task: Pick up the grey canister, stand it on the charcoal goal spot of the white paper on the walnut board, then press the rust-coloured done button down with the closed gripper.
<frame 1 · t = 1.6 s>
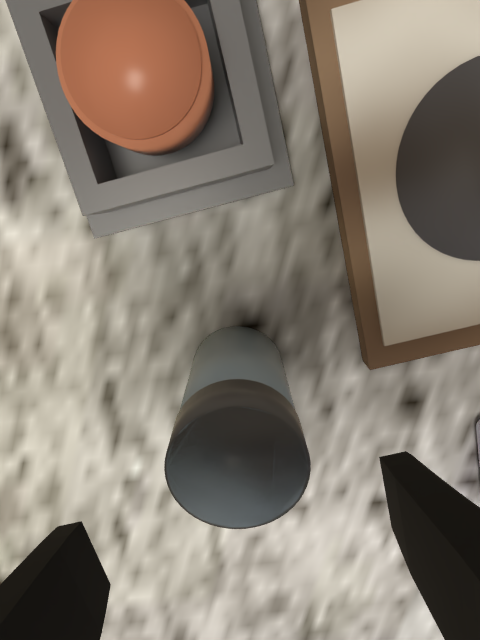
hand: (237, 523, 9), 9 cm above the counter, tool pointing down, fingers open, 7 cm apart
done button: (142, 76, 12), point 3 cm above the counter, slide at 0.0 cm
grey canister: (237, 368, 18), on the counter
done button housing: (163, 103, 15), on the counter
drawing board: (475, 165, 15), on the counter
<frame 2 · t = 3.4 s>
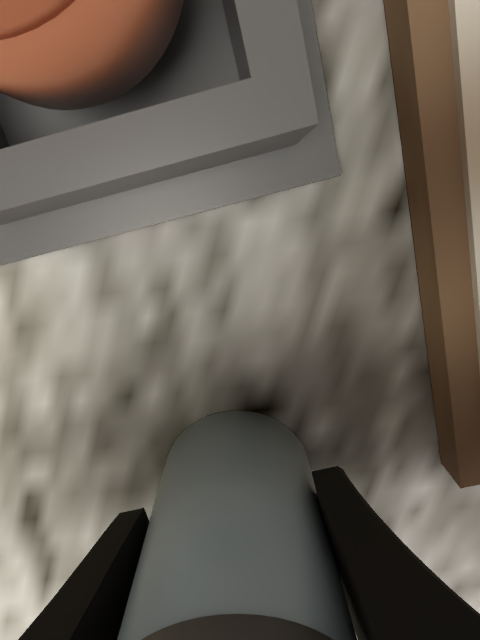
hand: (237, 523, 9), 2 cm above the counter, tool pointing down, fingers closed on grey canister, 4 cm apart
grey canister: (237, 475, 11), on the counter, touching gripper
done button housing: (99, 20, 8), on the counter
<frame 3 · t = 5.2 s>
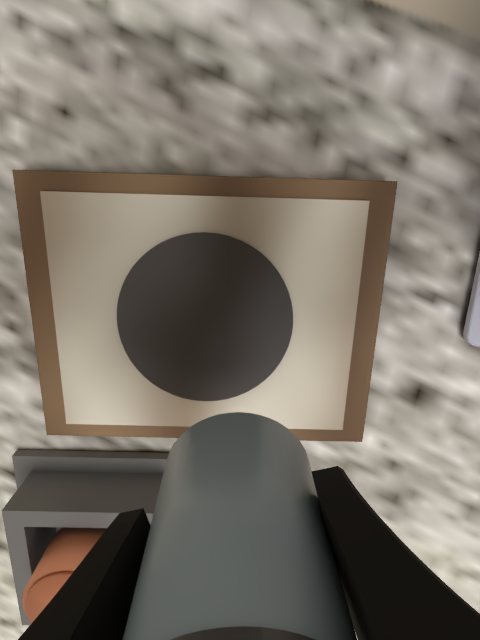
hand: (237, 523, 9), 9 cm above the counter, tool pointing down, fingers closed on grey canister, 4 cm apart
done button: (82, 581, 17), point 3 cm above the counter, slide at 0.0 cm
grey canister: (237, 475, 11), point 7 cm above the counter, touching gripper
done button housing: (107, 519, 20), on the counter
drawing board: (207, 313, 17), on the counter
when the fingers open (4 cm above the counter, at t = 7.2 s): grey canister stays where it is, resting on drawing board.
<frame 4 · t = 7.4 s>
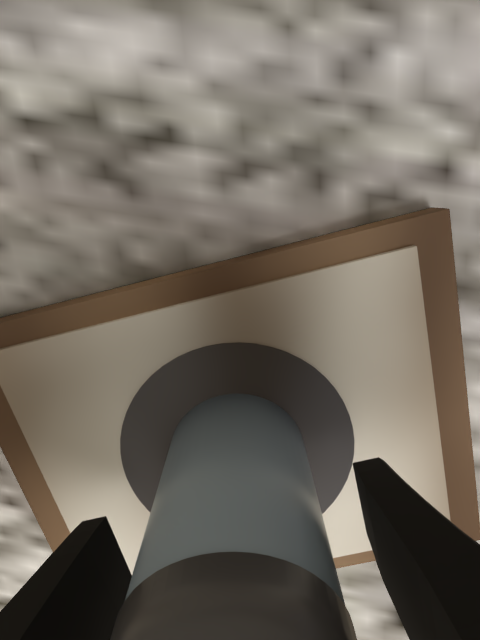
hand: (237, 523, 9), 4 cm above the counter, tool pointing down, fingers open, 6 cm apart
grey canister: (237, 454, 12), point 1 cm above the counter, touching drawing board
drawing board: (237, 429, 13), on the counter
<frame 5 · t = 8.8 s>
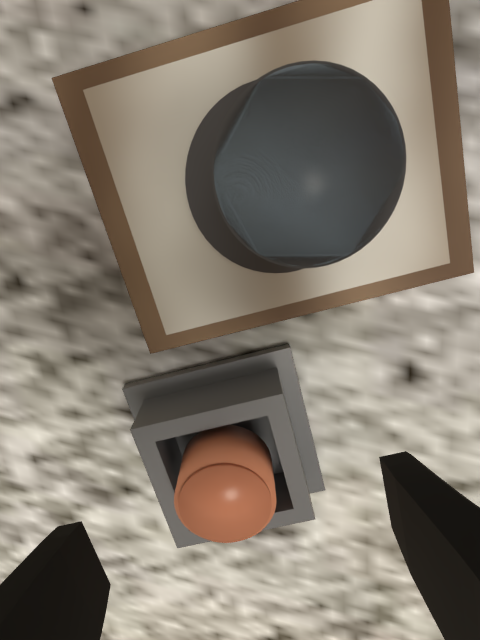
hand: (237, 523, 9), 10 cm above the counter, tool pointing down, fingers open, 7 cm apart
done button: (226, 483, 17), point 3 cm above the counter, slide at 0.0 cm
grey canister: (277, 181, 15), point 1 cm above the counter, touching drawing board
done button housing: (228, 435, 20), on the counter
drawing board: (275, 182, 16), on the counter
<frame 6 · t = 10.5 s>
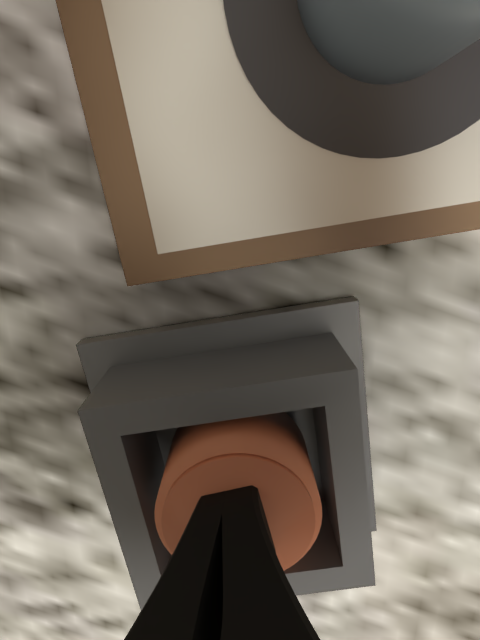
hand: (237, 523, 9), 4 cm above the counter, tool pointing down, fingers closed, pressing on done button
done button: (238, 487, 11), point 2 cm above the counter, slide at 1.1 cm, touching gripper
done button housing: (238, 436, 13), on the counter
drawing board: (372, 2, 9), on the counter
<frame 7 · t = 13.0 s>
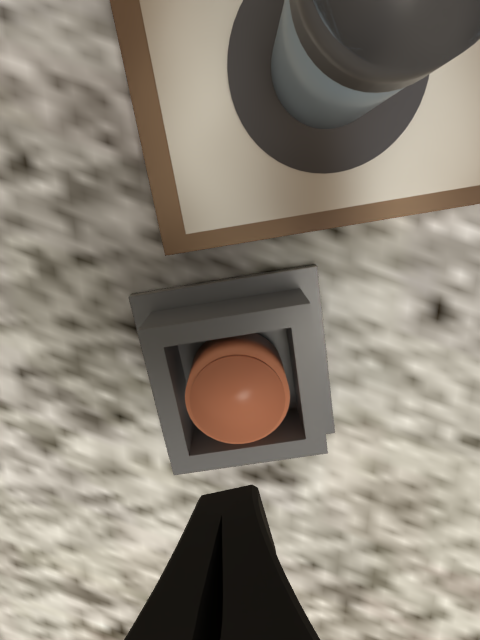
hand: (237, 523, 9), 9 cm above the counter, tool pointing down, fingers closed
done button: (237, 386, 16), point 2 cm above the counter, slide at 1.2 cm
grey canister: (329, 65, 14), point 1 cm above the counter, touching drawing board
done button housing: (237, 364, 18), on the counter
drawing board: (321, 76, 15), on the counter
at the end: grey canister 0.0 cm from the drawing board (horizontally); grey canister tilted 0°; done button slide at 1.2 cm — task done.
